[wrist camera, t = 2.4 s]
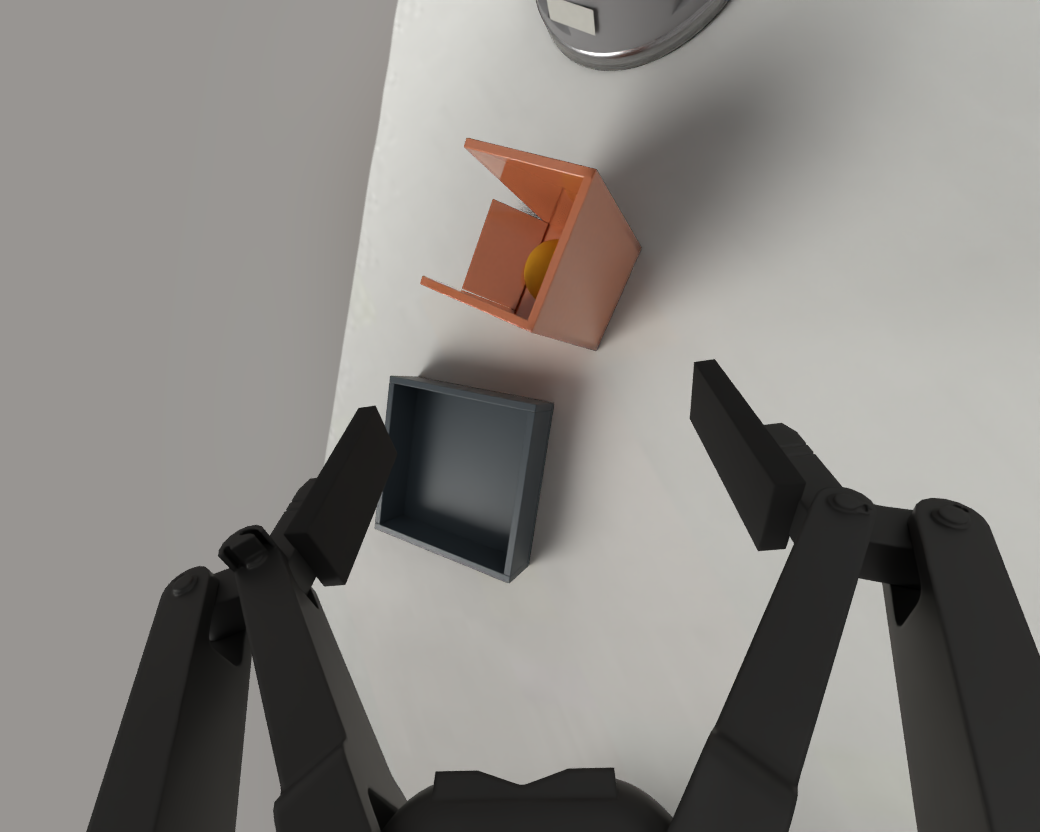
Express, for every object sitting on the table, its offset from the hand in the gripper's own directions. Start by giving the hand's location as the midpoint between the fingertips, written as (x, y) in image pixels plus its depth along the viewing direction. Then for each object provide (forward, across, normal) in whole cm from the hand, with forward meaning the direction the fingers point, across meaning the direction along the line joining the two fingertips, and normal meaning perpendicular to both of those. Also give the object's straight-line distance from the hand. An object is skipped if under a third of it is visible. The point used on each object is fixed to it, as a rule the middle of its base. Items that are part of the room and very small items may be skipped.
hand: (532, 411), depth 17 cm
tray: (+13, -8, -14) cm, 21 cm away
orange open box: (+19, +1, -1) cm, 19 cm away
